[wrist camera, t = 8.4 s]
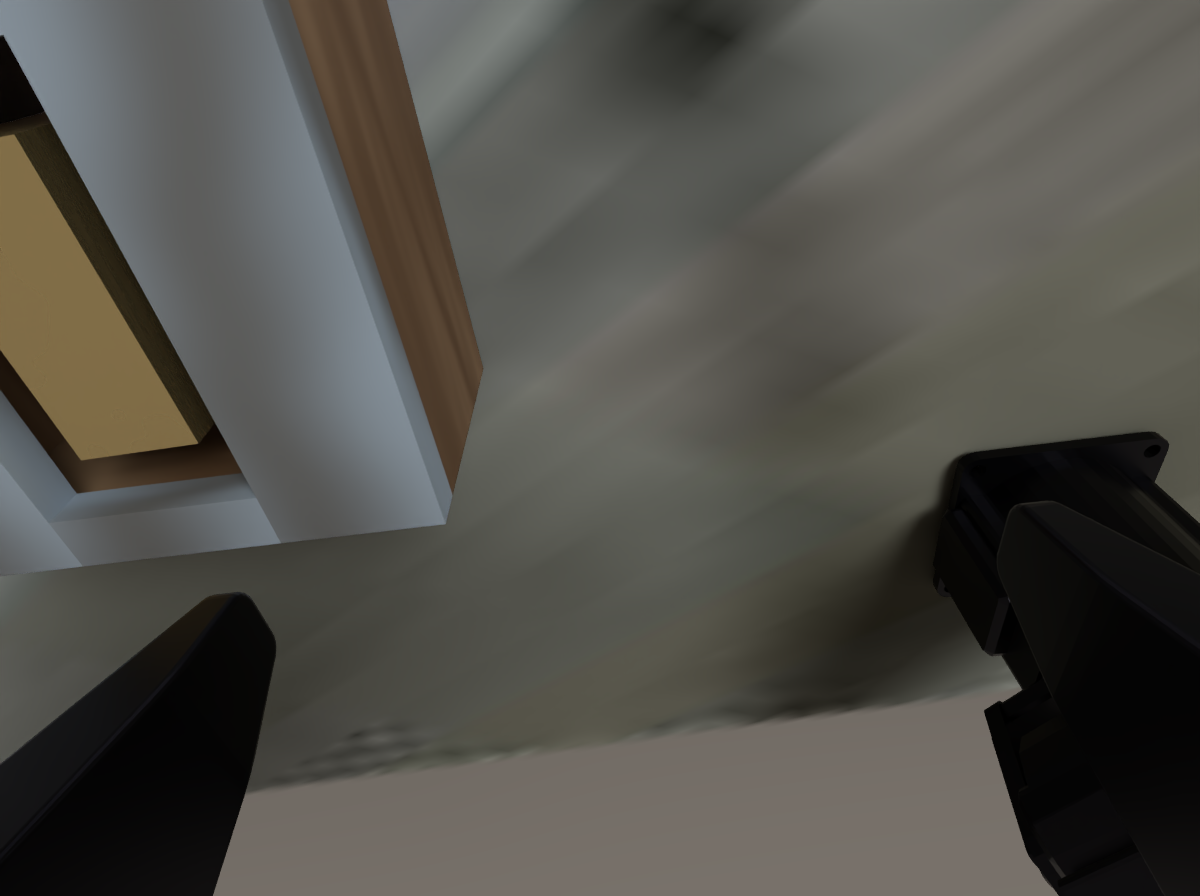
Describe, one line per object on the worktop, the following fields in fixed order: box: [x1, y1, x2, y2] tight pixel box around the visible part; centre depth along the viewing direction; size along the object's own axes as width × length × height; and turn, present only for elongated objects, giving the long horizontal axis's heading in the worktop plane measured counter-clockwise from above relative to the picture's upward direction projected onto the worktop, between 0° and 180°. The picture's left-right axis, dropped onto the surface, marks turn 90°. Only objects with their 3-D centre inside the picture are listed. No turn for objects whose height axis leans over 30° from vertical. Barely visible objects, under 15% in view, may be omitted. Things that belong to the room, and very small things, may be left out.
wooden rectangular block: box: [0, 112, 215, 460], centre depth 15 cm, size 3×6×6 cm, turn 9°
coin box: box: [0, 0, 483, 576], centre depth 15 cm, size 12×11×7 cm
